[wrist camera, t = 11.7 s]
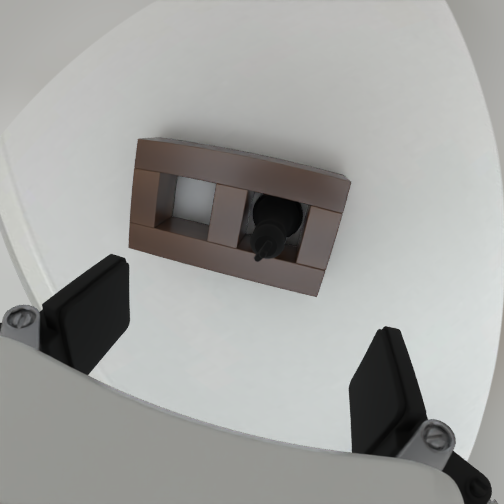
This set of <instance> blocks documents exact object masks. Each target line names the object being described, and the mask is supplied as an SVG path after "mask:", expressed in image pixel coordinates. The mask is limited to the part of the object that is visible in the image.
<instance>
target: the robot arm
mask: <svg viewBox="0 0 504 504" xmlns="http://www.w3.org/2000/svg"><path fill="white" fill-rule="evenodd" d="M42 307H43V310H41V311H40V312H39V311H38V309H37V308H35V307H34V306H30V305H19V306H15V307H13V308H11V309H10V310H8V311H7V312H6V313H5V315H4V317H3V321H2V323H0V504H498V503H497V501H496V500H495V499H494V500H493V501H492V502H491V500H490V498H491V494H492V488H491V484H490V482H489V480H488V479H487V478H486V477H485V476H484V475H483V474H482V473H481V472H479V471H478V470H477V469H475V468H474V467H473V466H472V465H470V464H469V463H468V462H467V461H465V460H464V459H463V458H462V457H460V456H459V455H458V454H456V453H455V452H454V451H453V449H454V447H455V444H456V441H455V436H454V433H453V431H452V430H451V428H450V427H449V426H448V425H446V424H445V423H443V422H441V421H439V420H435V419H430V420H428V419H427V415H426V409H425V406H424V402H423V399H422V395H421V392H420V389H419V385H418V382H417V379H416V376H415V372H414V369H413V366H412V363H411V360H410V357H409V354H408V351H407V348H406V345H405V342H404V340H403V337H402V334H401V331H400V330H399V329H396V328H391V327H386V326H385V327H384V328H383V329H382V330H381V329H379V330H378V331H377V332H376V334H375V336H374V338H373V340H372V342H371V344H370V346H369V348H368V350H367V352H366V354H365V356H364V358H363V360H362V362H361V363H360V365H359V367H358V369H357V371H356V373H355V374H354V376H353V378H352V380H351V382H350V385H349V400H350V416H351V438H352V453H350V452H342V451H335V450H328V449H321V448H315V447H309V446H303V445H297V444H292V443H286V442H281V441H277V440H272V439H267V438H263V437H259V436H255V435H250V434H246V433H242V432H239V431H235V430H231V429H227V428H224V427H220V426H217V425H213V424H210V423H207V422H204V421H200V420H197V419H194V418H191V417H188V416H185V415H182V414H179V413H176V412H173V411H171V410H168V409H165V408H162V407H160V406H157V405H154V404H152V403H149V402H147V401H144V400H142V399H139V398H137V397H134V396H132V395H129V394H127V393H125V392H122V391H120V390H118V389H115V388H113V387H111V386H109V385H107V384H104V383H102V382H100V381H98V380H96V379H94V378H92V377H90V376H88V375H89V373H90V372H91V371H92V370H93V369H94V367H95V366H96V365H97V364H98V362H99V361H100V360H101V359H102V358H103V356H104V355H105V354H106V353H107V352H108V351H109V349H110V348H111V347H112V346H113V345H114V343H115V342H116V341H117V340H118V339H119V338H120V336H121V335H122V334H123V333H124V332H125V331H126V329H127V328H128V326H129V323H130V308H129V264H128V263H126V259H125V258H123V257H120V256H117V255H113V254H110V255H108V256H107V257H106V258H104V259H103V260H101V261H100V262H98V263H97V264H96V265H94V266H93V267H91V268H90V269H89V270H87V271H86V272H84V273H83V274H82V275H80V276H79V277H78V278H76V279H75V280H74V281H72V282H71V283H69V284H68V285H67V286H65V287H64V288H63V289H61V290H60V291H59V292H58V293H56V294H55V295H54V296H52V297H51V298H50V299H48V300H47V301H46V302H45V303H43V304H42Z"/></svg>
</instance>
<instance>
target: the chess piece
mask: <svg viewBox="0 0 504 504" xmlns="http://www.w3.org/2000/svg"><path fill="white" fill-rule="evenodd" d="M302 218H303V212H302V208H301V205H300V203H299V202H296V201H292V200H288V199H284V198H280V197H276V196H271V195H267V194H263V195H262V196H260V197H259V198H258V200H257V201H256V203H255V205H254V208H253V221H254V224H255V226H256V227H255V229H254V231H253V233H252V235H251V238H250V245H251V248H252V250H253V252H254V253H255V254H256V255H255V257H254V260H255V261H256V262H259V261H261V260H262V259H263V258H265V259H271V258H274V257H277V256H278V255H279V254H280V253H281V252H282V251H283V249H284V246H285V241H286V238H287V237H290V236H291V235H293V234H294V233H295V232H296V231H297V230H298V229H299V227H300V225H301V223H302Z"/></svg>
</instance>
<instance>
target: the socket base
mask: <svg viewBox="0 0 504 504" xmlns="http://www.w3.org/2000/svg"><path fill="white" fill-rule="evenodd" d="M177 176H182V177H188V178H193V179H198V180H203V181H208V182H213V183H217V184H216V189H215V194H214V200H213V206H212V213H211V219H210V225H206V224H202V223H198V222H194V221H189V220H185V219H181V218H177V217H172V214H173V206H174V198H175V190H176V183H177ZM350 185H351V181H350V180H349V179H348V178H346V177H345V176H344V175H341V174H337V173H334V172H330V171H326V170H322V169H318V168H315V167H311V166H307V165H303V164H298V163H294V162H290V161H286V160H281V159H277V158H272V157H268V156H263V155H259V154H254V153H249V152H244V151H239V150H234V149H228V148H223V147H217V146H212V145H206V144H200V143H194V142H187V141H181V140H174V139H167V138H142V139H138V143H137V151H136V159H135V168H134V176H133V186H132V198H131V211H130V228H129V248H131V249H135V250H138V251H142V252H145V253H149V254H153V255H156V256H160V257H163V258H167V259H171V260H174V261H178V262H182V263H185V264H189V265H193V266H196V267H200V268H204V269H208V270H211V271H215V272H219V273H223V274H227V275H230V276H234V277H238V278H242V279H246V280H250V281H254V282H258V283H262V284H266V285H270V286H274V287H278V288H282V289H286V290H290V291H294V292H298V293H302V294H306V295H310V296H314V297H317V295H318V292H319V289H320V286H321V283H322V280H323V277H324V274H325V270H326V267H327V264H328V261H329V258H330V255H331V251H332V248H333V245H334V242H335V238H336V235H337V231H338V228H339V225H340V221H341V218H342V213H343V211H344V207H345V204H346V200H347V196H348V192H349V189H350ZM254 192H258V193H263V194H267V195H271V196H276V197H280V198H284V199H288V200H292V201H296V202H300V203H304V204H308V206H307V210H306V214H305V218H304V222H303V226H302V230H301V233H300V237H299V241H298V245H297V247H296V246H292V245H288V244H285V246H284V249H283V251H282V252H281V253H280V254H279V255H278V256H277V257H274V258H271V259H265V258H263V259H262V260H261V261H259V262H256V261H255V260H254V257H255V255H256V254H255V253H254V252H253V250H252V248H251V245H250V238H251V235H248V234H246V230H247V225H248V220H249V215H250V210H251V205H252V200H253V196H254Z"/></svg>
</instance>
